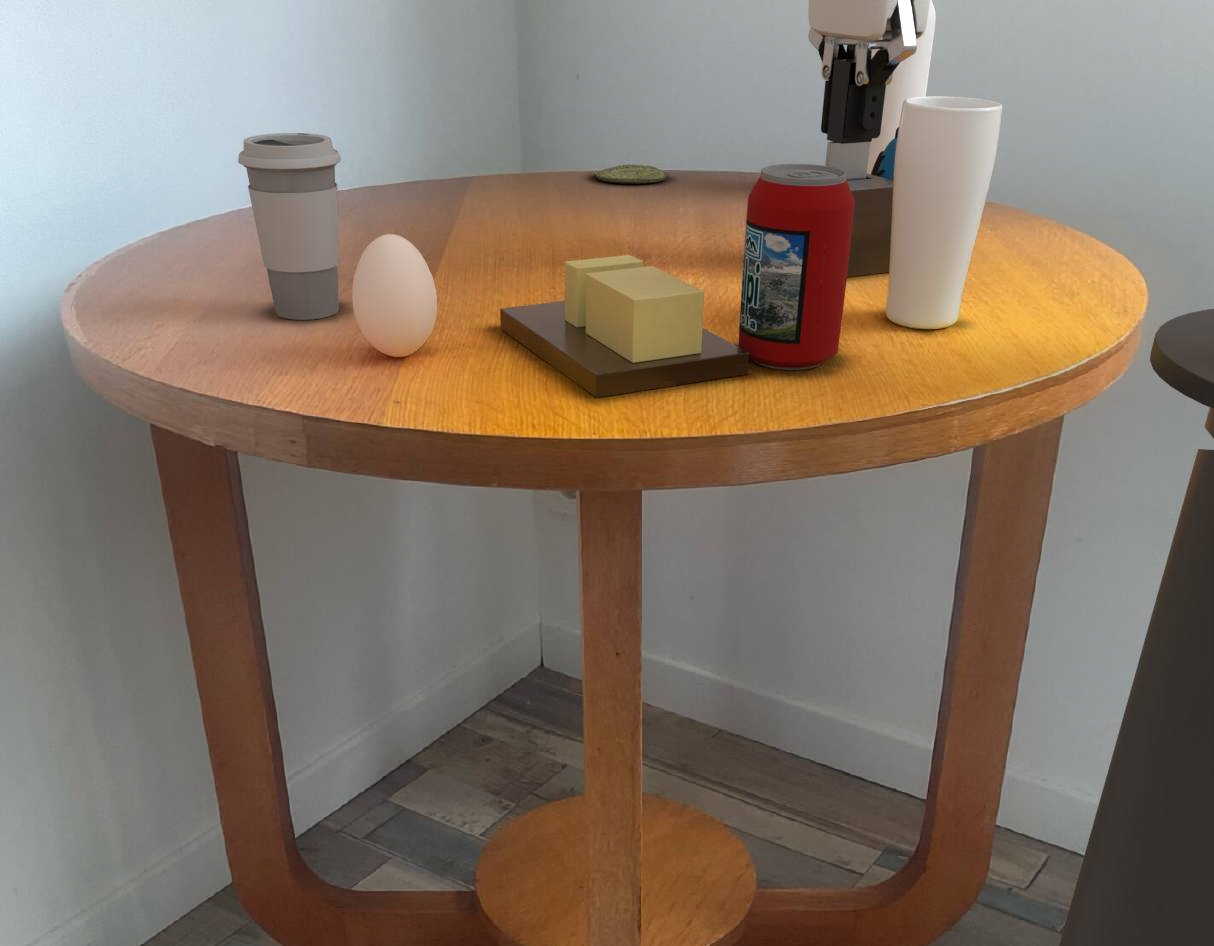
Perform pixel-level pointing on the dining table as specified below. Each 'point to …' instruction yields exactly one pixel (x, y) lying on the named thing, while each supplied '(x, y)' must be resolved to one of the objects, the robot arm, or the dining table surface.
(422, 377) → the dining table surface
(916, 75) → the bottle
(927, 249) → the drinking glass
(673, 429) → the dining table surface
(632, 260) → the butter slice
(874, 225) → the knife block
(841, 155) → the knife
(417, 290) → the egg
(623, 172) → the medallion
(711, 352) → the board
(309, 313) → the cup
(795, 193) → the beverage can
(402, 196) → the dining table surface
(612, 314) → the butter block
